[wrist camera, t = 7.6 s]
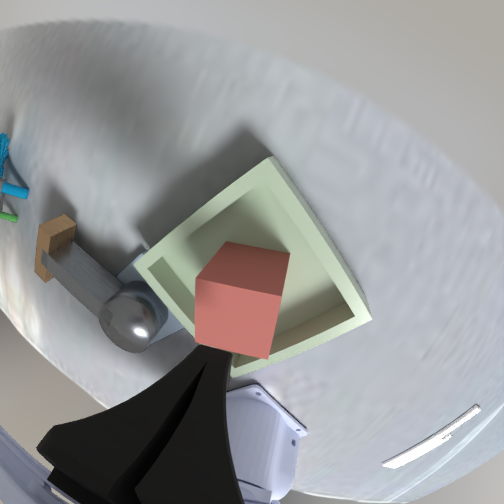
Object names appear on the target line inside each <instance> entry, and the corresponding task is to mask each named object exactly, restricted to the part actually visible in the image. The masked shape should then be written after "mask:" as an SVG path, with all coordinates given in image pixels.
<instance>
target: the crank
mask: <svg viewBox="0 0 504 504" xmlns="http://www.w3.org/2000/svg"><path fill="white" fill-rule="evenodd" d="M76 225H77V224H76V223H75V222H73V221H72V220H71V219H70V218H69V217H68V216H67V215H66V214H64V215H61V216H59V217H57V218H54V219H52V220H50V221H47V222H45V223H43V224H41V225H39V230H38V238H37V247H36V259H35V273H36V274H37V275H38V276H39V277H40V278H41V279H42V280H43V281H44V282H45V283H46V282H47V281H49V280H50V279H52V278H53V277H55V278H56V279H57V280H58V281H59V282H60V283H61V284H62V285H63V286H64V287H65V288H66V289H67V290H68V291H69V292H70V293H71V294H72V295H73V296H74V297H76V298H77V299H78V300H79V301H80V302H81V303H82V304H83V305H84V306H85V307H87V308H88V309H89V310H90V311H91V312H92V313H93V314H95V315H96V316H97V317H98V318H99V322H100V324H101V327H102V329H103V331H104V332H105V334H106V335H107V336H108V337H109V339H110V340H111V341H112V342H113V343H115V344H116V345H117V346H119V347H120V348H122V349H124V350H126V351H128V352H132V353H140V352H143V351H144V350H145V349H146V348H147V347H148V345H149V344H150V343H151V342H152V340H153V339H154V338H155V336H156V335H157V334H158V332H159V331H160V330H161V328H162V327H163V326H164V324H165V323H166V322H167V320H168V307H167V306H166V305H165V304H164V303H163V301H162V300H161V299H160V298H159V297H158V295H157V294H156V293H155V292H154V290H153V289H152V288H151V287H150V286H149V284H147V283H145V282H142V281H130V282H128V283H127V284H126V285H124V284H123V283H122V282H120V281H119V280H118V279H117V278H115V277H114V276H113V275H112V274H111V273H109V272H108V271H107V270H106V269H105V268H103V267H102V266H101V265H100V264H99V263H97V262H96V261H95V260H94V259H93V258H92V257H91V256H89V255H88V254H87V253H86V252H85V251H84V250H83V249H82V248H80V247H79V246H78V245H77V244H76V243H75V242H74V241H73V238H74V233H75V229H76Z"/></svg>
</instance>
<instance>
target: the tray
mask: <svg viewBox="0 0 504 504" xmlns="http://www.w3.org/2000/svg"><path fill="white" fill-rule="evenodd" d="M226 241H228V242H233V243H238V244H243V245H249V246H254V247H259V248H265V249H270V250H275V251H280V252H286V253H290V258H289V264H288V269H287V274H286V279H285V284H284V289H283V294H282V299H281V304H280V308H279V313H278V318H277V322H276V327H275V331H274V336H273V340H272V344H271V349H270V353H269V357H268V360H267V359H262V358H257V357H253V356H248V355H244V354H240V353H235V352H231V351H228V352H231V353H232V354H233V358H232V366H231V373H230V375H231V376H232V377H233V378H235V377H238V376H241V375H244V374H247V373H250V372H253V371H255V370H258V369H261V368H264V367H266V366H269V365H272V364H274V363H277V362H279V361H282V360H285V359H287V358H290V357H292V356H294V355H297V354H299V353H302V352H304V351H306V350H309V349H311V348H313V347H316V346H318V345H320V344H322V343H325V342H327V341H329V340H331V339H333V338H336V337H338V336H340V335H342V334H344V333H346V332H348V331H350V330H352V329H354V328H356V327H358V326H360V325H362V324H364V323H366V322H368V321H370V320H372V316H371V312H370V309H369V305H368V302H367V298H366V296H365V295H364V293H363V291H362V289H361V288H360V286H359V284H358V282H357V281H356V279H355V277H354V276H353V274H352V272H351V271H350V269H349V267H348V266H347V264H346V262H345V261H344V259H343V257H342V256H341V254H340V252H339V251H338V249H337V248H336V246H335V244H334V243H333V241H332V240H331V238H330V237H329V235H328V233H327V232H326V230H325V229H324V227H323V226H322V224H321V223H320V221H319V220H318V218H317V217H316V215H315V214H314V212H313V211H312V209H311V208H310V206H309V205H308V203H307V202H306V200H305V199H304V197H303V196H302V194H301V193H300V191H299V190H298V189H297V187H296V186H295V184H294V183H293V181H292V180H291V179H290V177H289V176H288V174H287V173H286V172H285V170H284V169H283V167H282V166H281V165H280V163H279V162H278V161H277V159H276V158H275V156H271V157H268V158H266V159H265V160H263V161H262V162H261V163H259V164H258V165H256V166H255V167H254V168H252V169H251V170H250V171H248V172H247V173H245V174H244V175H243V176H241V177H240V178H239V179H237V180H236V181H235V182H233V183H232V184H231V185H229V186H228V187H227V188H225V189H224V190H223V191H221V192H220V193H219V194H218V195H216V196H215V197H214V198H212V199H211V200H210V201H208V202H207V203H206V204H205V205H203V206H202V207H201V208H200V209H198V210H197V211H196V212H195V213H193V214H192V215H191V216H190V217H188V218H187V219H186V220H185V221H183V222H182V223H181V224H180V225H179V226H177V227H176V228H175V229H174V230H172V231H171V232H170V233H169V234H168V235H167V236H165V237H164V238H163V239H162V240H161V241H159V242H158V243H157V244H156V245H155V246H154V247H152V248H151V249H150V250H149V251H148V252H147V253H145V254H144V255H143V256H142V257H141V258H140V259H139V260H137V261H136V262H135V263H134V264H133V265H134V266H135V268H136V269H137V270H138V272H139V273H140V274H141V275H142V277H143V278H144V279H145V280H146V282H147V283H148V284H149V286H150V287H151V288H152V289H153V290H154V292H155V293H156V294H157V295H158V297H159V298H160V299H161V300H162V301H163V303H164V304H165V305H166V306H167V307H168V309H169V310H170V311H171V312H172V313H173V314H174V316H175V317H176V318H177V319H178V320H179V321H180V322H181V324H182V325H183V326H184V327H185V328H186V329H187V330H188V331H189V333H190V334H191V335H192V336H193V337H194V338H195V278H196V277H197V275H198V274H199V273H200V272H201V271H202V269H203V268H204V267H205V266H206V265H207V263H208V262H209V261H210V260H211V259H212V257H213V256H214V255H215V254H216V253H217V251H218V250H219V249H220V248H221V247H222V245H223V244H224V243H225V242H226ZM200 344H201V343H200ZM203 345H204V344H203ZM206 346H208V345H206ZM210 347H212V346H210ZM214 348H215V347H214ZM217 349H219V348H217ZM221 350H223V349H221ZM225 351H227V350H225Z"/></svg>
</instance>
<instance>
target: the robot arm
mask: <svg viewBox="0 0 504 504" xmlns="http://www.w3.org/2000/svg"><path fill="white" fill-rule="evenodd" d="M232 358H233V354H232V353H231V352H228V351H225V350H221V349H217V348H214V347H210V346H206V345H203V344H200V345H198V346H197V347H196V348H195V349H194V350H193V351H192V352H191V353H190V354H189V355H188V356H187V357H186V358H185V359H184V360H183V361H182V362H180V363H179V364H178V365H177V366H176V367H175V368H173V369H172V370H171V371H170V372H169V373H167V374H166V375H165V376H164V377H162V378H161V379H160V380H158V381H157V382H155V383H154V384H153V385H151V386H150V387H148V388H147V389H145V390H144V391H142V392H141V393H139V394H137V395H136V396H134V397H132V398H130V399H129V400H127V401H125V402H123V403H121V404H119V405H117V406H115V407H113V408H110V409H108V410H106V411H104V412H101V413H98V414H95V415H93V416H89V417H87V418H84V419H80V420H77V421H72V422H68V423H64V424H59V425H55V426H53V427H52V428H51V429H50V430H49V431H48V433H47V434H46V435H45V436H44V438H43V439H42V440H41V442H40V443H39V444H38V446H37V447H36V448H37V451H38V452H39V453H40V454H41V455H42V456H43V457H44V458H45V459H46V460H47V461H48V462H49V463H51V464H52V465H53V466H54V467H55V468H54V469H53V470H52V472H51V471H50V470H48V469H47V468H46V467H44V466H43V465H42V464H41V463H39V462H38V461H37V460H36V459H35V458H34V457H32V456H31V455H30V454H29V453H28V452H27V451H26V450H25V449H24V448H22V447H21V446H20V445H19V444H18V443H17V442H16V441H15V440H14V439H13V438H12V437H11V436H10V435H9V434H8V433H7V432H6V431H5V430H4V429H3V428H2V427H1V426H0V499H1V501H2V502H3V503H4V504H69V503H67V502H66V501H64V500H63V499H61V498H60V497H58V496H57V495H55V494H54V493H52V491H51V487H52V488H53V489H55V490H56V491H58V492H59V493H60V494H62V495H63V496H64V497H66V498H67V499H69V500H70V501H72V502H73V503H75V504H270V503H271V504H280V502H279V501H278V500H279V499H281V498H282V497H283V496H285V495H286V494H287V493H288V491H289V490H290V489H291V487H292V485H293V483H294V479H295V473H296V466H297V459H298V452H299V444H300V437H303V436H306V435H308V430H307V429H305V428H304V427H303V426H302V425H301V424H300V423H299V422H298V421H296V420H295V419H294V418H293V417H292V416H291V415H290V414H289V413H288V412H286V411H285V410H284V409H283V408H282V407H281V406H280V405H279V404H278V403H277V402H276V401H275V400H274V399H273V398H272V397H270V396H269V395H268V394H267V393H266V392H265V391H264V390H263V389H262V388H261V387H260V386H259V385H256V384H254V385H250V386H247V387H243V388H240V389H237V390H233V391H230V392H227V388H228V385H229V380H230V373H231V366H232ZM50 486H51V487H50Z"/></svg>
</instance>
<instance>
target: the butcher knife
mask: <svg viewBox="0 0 504 504" xmlns="http://www.w3.org/2000/svg"><path fill="white" fill-rule="evenodd" d="M480 411H481V409H480V407H478V406H477V405H475V406H474V407H472V408H471V409H470V410H468V411H467V412H466V413H464V414H463V415H462V416H460V417H459V418H458V419H456V420H455V421H453V422H452V423H451V424H449V425H448V426H446V427H445V428H443V429H442V430H440V431H439V432H437V433H436V434H434V435H432V436H431V437H429V438H428V439H426V440H424V441H423V442H421V443H419V444H417V445H416V446H414V447H412V448H410V449H409V450H407V451H405V452H403V453H401V454H399V455H397V456H395V457H393V458H391V459H389V460H387V461H385V462H383V463H382V466H385V467H388V468H389V467H390V468H395V469H396V468H397V467H399V466H400V467H401V465H402V466H403V465H405V464H407V462H408V463H409V461H411V460H413V459H415V458H417V457H420V456H422V455H423V454H424V453H427V452H429V451H430V450H432V449H434V448H435V447H437V446H439V445H440V444H442V443H443V442H445V441H446V440H448V439H450V438H451V437H453V436H454V435H453V436H451V433H449V432H451V431H452V430H454V429H455V428H456V427H458V426H459V425H461V424H462V423H464V422H465V421H467V420H468V419H469V418H471V417H472V416H474V415H475V414H477V413H478V412H480ZM448 433H449V434H448ZM445 435H446V436H445Z"/></svg>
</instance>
